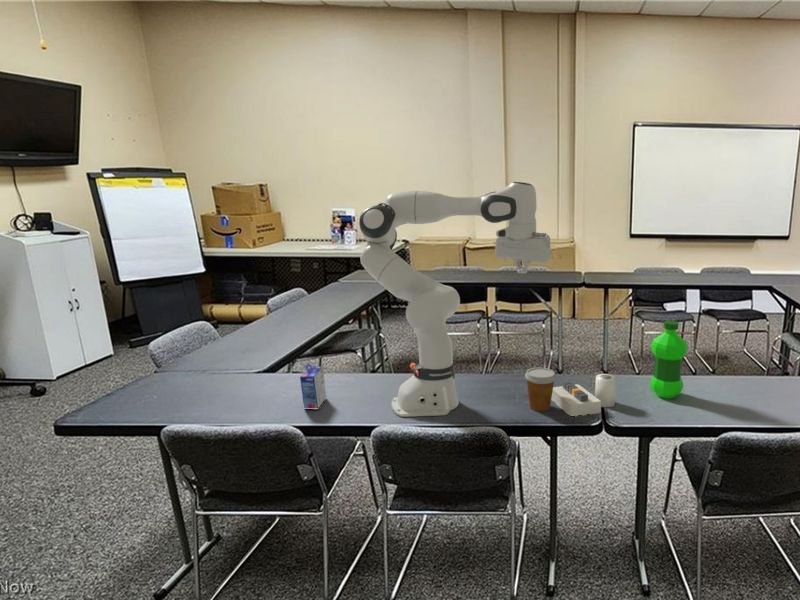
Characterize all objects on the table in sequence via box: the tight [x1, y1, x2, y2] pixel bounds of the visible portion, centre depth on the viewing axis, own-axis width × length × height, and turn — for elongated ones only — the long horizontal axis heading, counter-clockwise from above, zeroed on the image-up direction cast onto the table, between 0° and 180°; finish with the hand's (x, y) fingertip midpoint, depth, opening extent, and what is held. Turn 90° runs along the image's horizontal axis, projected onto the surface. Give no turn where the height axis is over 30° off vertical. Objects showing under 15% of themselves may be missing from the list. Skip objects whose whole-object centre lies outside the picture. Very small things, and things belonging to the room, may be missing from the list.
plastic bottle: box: [649, 320, 689, 400], centre depth 168 cm, size 10×10×25 cm
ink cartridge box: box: [299, 362, 327, 409], centre depth 176 cm, size 10×6×14 cm, turn 172°
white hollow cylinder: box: [594, 373, 617, 408], centre depth 166 cm, size 6×6×9 cm
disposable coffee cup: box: [524, 367, 557, 412], centre depth 165 cm, size 10×10×12 cm
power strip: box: [551, 380, 602, 417], centre depth 170 cm, size 10×22×6 cm, turn 10°
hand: (522, 273), depth 174 cm, fingers closed
